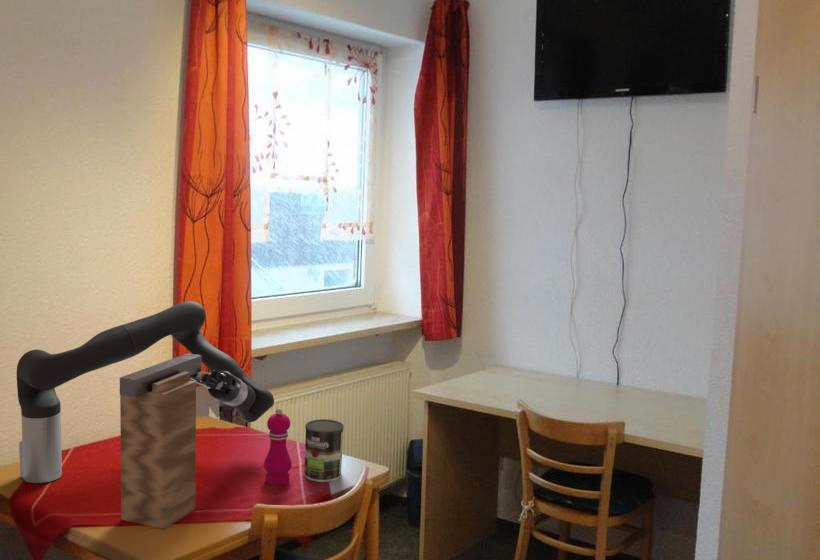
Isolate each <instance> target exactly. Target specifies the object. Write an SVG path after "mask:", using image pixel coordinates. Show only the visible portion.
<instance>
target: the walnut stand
mask: <svg viewBox="0 0 820 560" xmlns="http://www.w3.org/2000/svg"><path fill="white" fill-rule="evenodd" d="M119 397H120V398H119V399H120V400H119V402H120V405H119V406H120V407H119V409H120V410H119V411H120V412H119V413H120V416H119V417H120V422H119V423H120V515H121V517H120V519H121V520H123V521H126V522H130V523H131V522H132V523H135V524H140V525H143V526H148V527H152V528H156V529H160V530H162V531H163V530H167V529H168V528H169V527H171V526H172V525H173V524H175V523H176V522H178V521H180V520H182V519H183V518H184V517H186V516H187V515H189V514H191V513H192V512H193V511H194V510H196V461H197V459H196V452H197V451H196V447H197V443H196V442H197V437H196V436H197V435H196V434H197V428H196V427H197V384H196V381H191V380H190V372H186V371H184V372H181V373H179V374H176V375H174V376H171V377H169V378H166V379H163V380H161V381H158V382H156V383H153V384H152V391H151V392H148V393H146V394H143V395H141V396H138V397H136V398H133V397H127V396H121V395H120V394H119ZM179 519H180V520H179Z"/></svg>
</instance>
